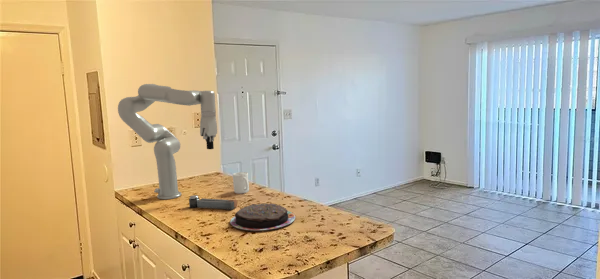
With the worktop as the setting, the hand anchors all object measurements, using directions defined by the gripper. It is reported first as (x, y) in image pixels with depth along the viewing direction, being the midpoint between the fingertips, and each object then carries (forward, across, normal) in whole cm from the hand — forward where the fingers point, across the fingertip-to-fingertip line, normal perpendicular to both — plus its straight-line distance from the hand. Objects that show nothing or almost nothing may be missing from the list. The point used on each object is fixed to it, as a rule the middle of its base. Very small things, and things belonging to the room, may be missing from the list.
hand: (210, 148), depth 215 cm
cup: (+25, -9, +14) cm, 30 cm away
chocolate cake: (+25, +32, +44) cm, 60 cm away
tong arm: (+25, +19, +11) cm, 33 cm away
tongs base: (+25, +19, +11) cm, 34 cm away
